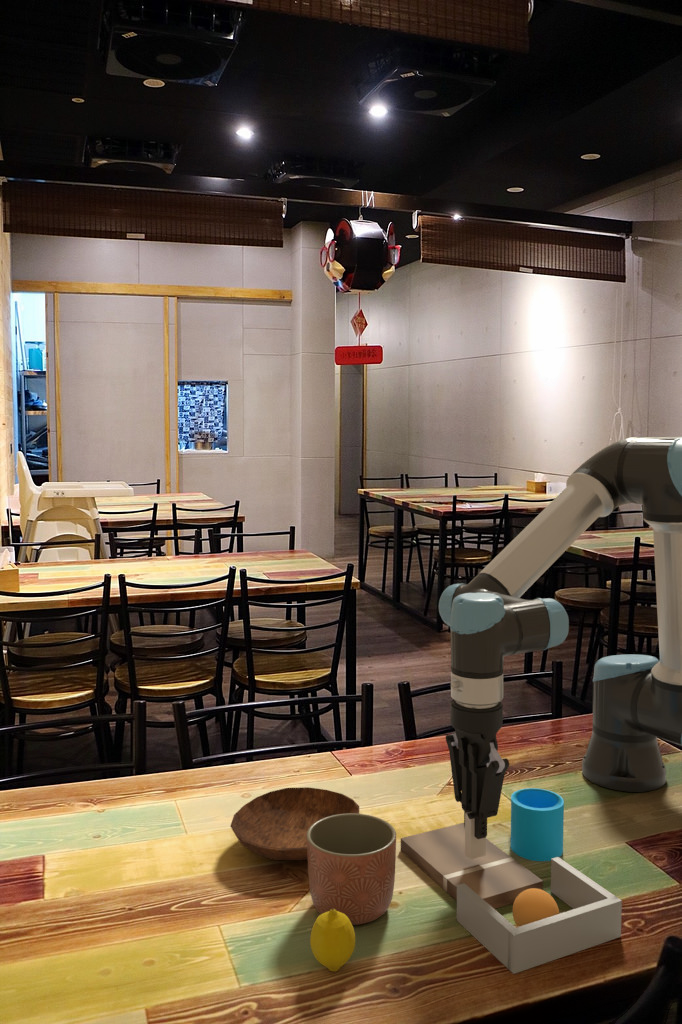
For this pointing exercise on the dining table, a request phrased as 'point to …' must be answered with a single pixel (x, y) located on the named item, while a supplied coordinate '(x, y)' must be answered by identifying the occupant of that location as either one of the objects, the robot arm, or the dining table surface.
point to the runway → (469, 866)
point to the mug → (537, 824)
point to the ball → (533, 906)
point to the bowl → (286, 820)
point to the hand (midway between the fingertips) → (475, 854)
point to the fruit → (332, 939)
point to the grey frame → (545, 921)
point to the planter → (352, 865)
